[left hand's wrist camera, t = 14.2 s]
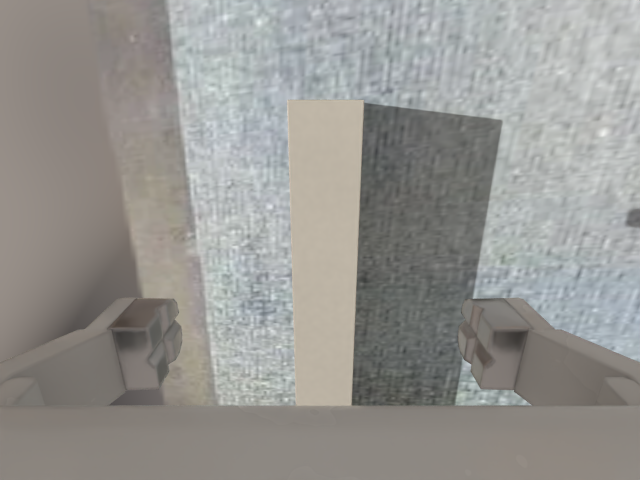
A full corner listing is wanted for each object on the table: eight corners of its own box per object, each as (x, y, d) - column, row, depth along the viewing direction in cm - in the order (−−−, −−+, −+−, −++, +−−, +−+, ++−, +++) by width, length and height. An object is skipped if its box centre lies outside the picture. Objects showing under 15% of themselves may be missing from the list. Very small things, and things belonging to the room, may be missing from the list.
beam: (296, 101, 30) (287, 99, 22) (352, 101, 30) (364, 99, 22) (305, 544, 49) (302, 630, 41) (338, 544, 49) (342, 630, 41)
